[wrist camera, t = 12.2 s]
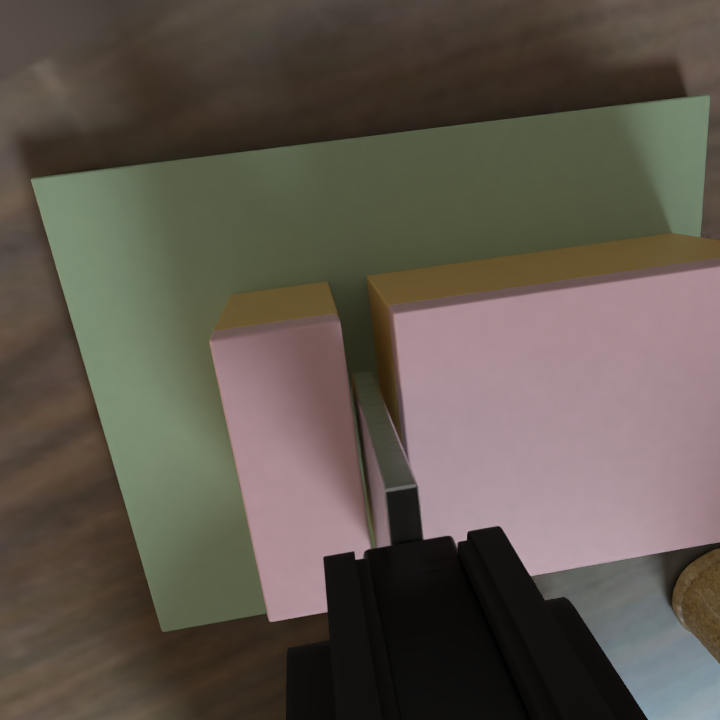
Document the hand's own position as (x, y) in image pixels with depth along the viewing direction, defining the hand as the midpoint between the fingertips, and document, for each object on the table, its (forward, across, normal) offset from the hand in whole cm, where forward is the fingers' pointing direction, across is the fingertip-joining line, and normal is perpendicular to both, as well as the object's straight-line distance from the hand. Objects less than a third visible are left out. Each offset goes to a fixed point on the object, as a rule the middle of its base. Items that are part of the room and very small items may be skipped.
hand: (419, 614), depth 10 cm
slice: (+10, +2, 0) cm, 10 cm away
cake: (+10, -6, 0) cm, 11 cm away
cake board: (+11, -2, 0) cm, 11 cm away
